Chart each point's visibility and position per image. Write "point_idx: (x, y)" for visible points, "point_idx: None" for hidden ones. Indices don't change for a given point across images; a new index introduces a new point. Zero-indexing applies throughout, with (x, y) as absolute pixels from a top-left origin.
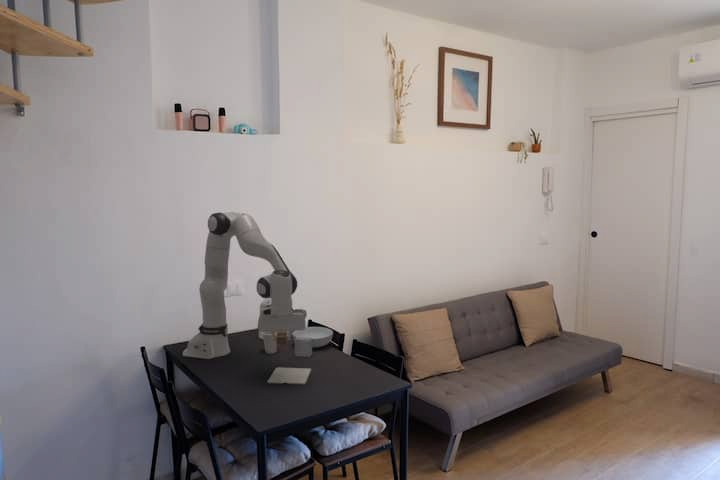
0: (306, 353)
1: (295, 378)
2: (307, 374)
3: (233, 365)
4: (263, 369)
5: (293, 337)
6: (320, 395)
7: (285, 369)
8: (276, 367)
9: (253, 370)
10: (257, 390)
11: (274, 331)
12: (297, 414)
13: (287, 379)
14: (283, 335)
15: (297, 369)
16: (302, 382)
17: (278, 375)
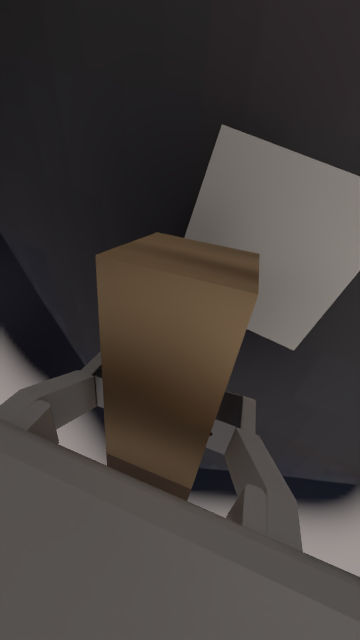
0: None
1: (273, 300)
2: (346, 276)
3: (13, 13)
4: (158, 123)
5: None
6: (306, 425)
7: (262, 174)
8: (221, 126)
9: (114, 129)
10: None
11: (45, 436)
12: (216, 460)
13: None
14: (166, 446)
15: (327, 191)
16: (286, 343)
17: None
